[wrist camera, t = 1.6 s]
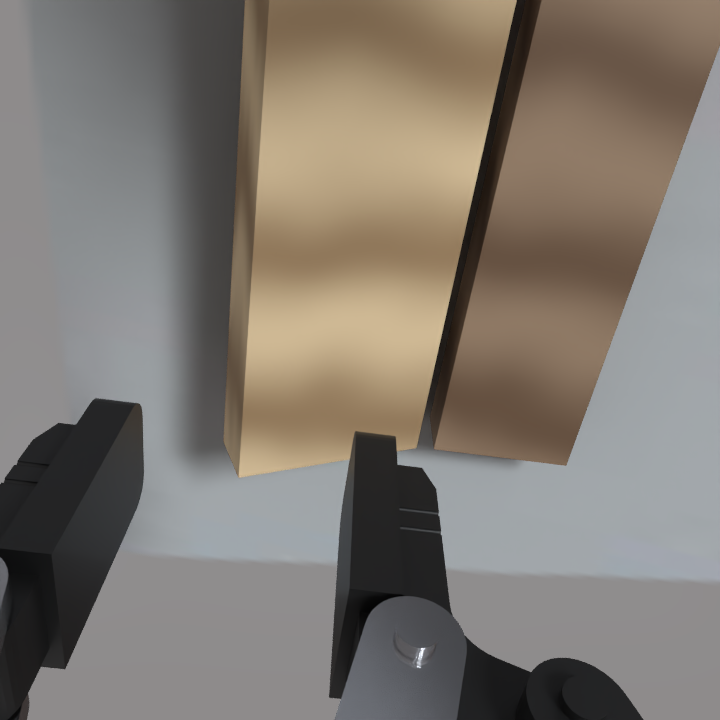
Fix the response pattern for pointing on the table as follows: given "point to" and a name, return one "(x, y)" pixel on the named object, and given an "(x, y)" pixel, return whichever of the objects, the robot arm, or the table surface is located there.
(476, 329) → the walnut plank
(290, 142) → the oak plank
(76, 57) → the table surface
